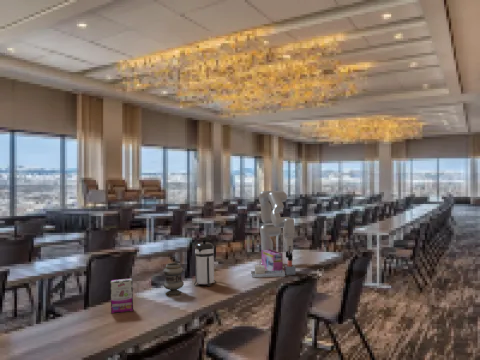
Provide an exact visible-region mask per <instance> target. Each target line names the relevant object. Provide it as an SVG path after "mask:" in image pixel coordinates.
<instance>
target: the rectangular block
mask: <svg viewBox="0 0 480 360" xmlns="http://www.w3.org/2000/svg"><path fill="white" fill-rule="evenodd" d="M251 274H252V275H251ZM250 275H251V278H252V277H259V278H285V277H286V275H285V272H284V269H281V270H274V271H269V270H265V274H255V270H251V271H250Z"/></svg>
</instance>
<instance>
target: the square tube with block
mask: <svg viewBox="0 0 480 360" xmlns="http://www.w3.org/2000/svg"><path fill="white" fill-rule="evenodd" d="M283 267H284V269H283V270H284V272H285V276H296V275H297V273H296V271H297V270H296V268H297V267H296V266H295V264H292V266H288V264H283Z"/></svg>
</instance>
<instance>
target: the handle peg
mask: <svg viewBox="0 0 480 360" xmlns="http://www.w3.org/2000/svg"><path fill="white" fill-rule="evenodd" d="M287 265H288V266H292V265H293V260H292V261H288V260H287Z"/></svg>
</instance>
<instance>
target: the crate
mask: <svg viewBox="0 0 480 360" xmlns="http://www.w3.org/2000/svg"><path fill="white" fill-rule="evenodd" d="M254 271H255V274H265V271H266V269H265V266H264V265H262V264H258V265H254Z"/></svg>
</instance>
